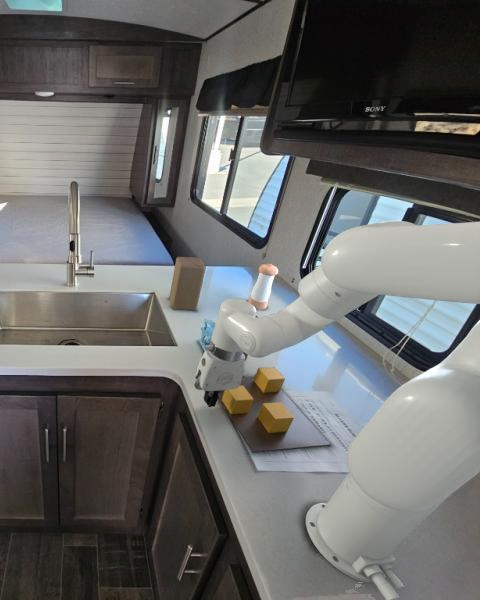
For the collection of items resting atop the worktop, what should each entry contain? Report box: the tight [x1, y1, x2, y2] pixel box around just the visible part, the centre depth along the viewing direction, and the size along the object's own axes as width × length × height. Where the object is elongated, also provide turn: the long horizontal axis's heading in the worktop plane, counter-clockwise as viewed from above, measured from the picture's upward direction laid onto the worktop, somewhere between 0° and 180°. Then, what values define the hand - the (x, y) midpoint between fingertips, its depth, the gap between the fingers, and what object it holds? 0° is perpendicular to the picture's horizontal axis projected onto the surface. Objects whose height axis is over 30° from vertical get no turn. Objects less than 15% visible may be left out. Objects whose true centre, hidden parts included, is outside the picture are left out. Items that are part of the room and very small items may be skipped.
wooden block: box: [168, 256, 207, 311], centre depth 131 cm, size 10×10×20 cm
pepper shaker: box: [247, 263, 279, 311], centre depth 132 cm, size 7×7×19 cm
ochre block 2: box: [254, 366, 286, 393], centre depth 93 cm, size 5×5×5 cm
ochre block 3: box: [258, 402, 294, 433], centre depth 81 cm, size 5×5×5 cm
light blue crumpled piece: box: [199, 318, 216, 352], centre depth 107 cm, size 8×8×12 cm
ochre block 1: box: [222, 386, 254, 414], centre depth 86 cm, size 5×5×5 cm
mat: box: [218, 376, 332, 453], centre depth 87 cm, size 24×20×1 cm
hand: (209, 402), depth 86 cm, fingers closed
